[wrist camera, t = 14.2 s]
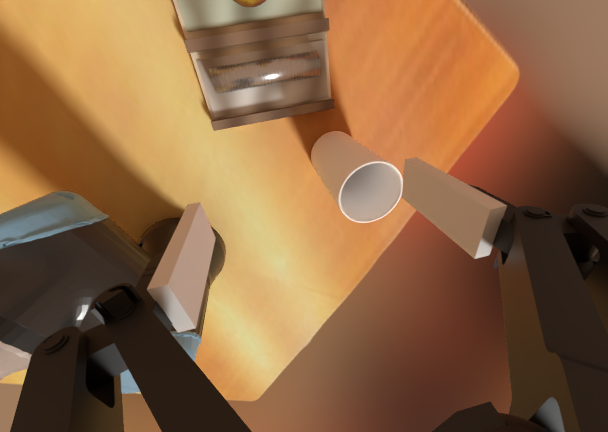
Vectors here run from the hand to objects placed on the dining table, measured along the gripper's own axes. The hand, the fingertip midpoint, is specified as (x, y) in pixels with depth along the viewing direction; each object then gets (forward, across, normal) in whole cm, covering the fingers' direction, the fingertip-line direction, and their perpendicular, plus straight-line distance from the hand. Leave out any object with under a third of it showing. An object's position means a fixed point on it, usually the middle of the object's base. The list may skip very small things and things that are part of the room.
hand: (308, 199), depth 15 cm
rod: (+25, 0, +6) cm, 26 cm away
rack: (+27, 0, +11) cm, 29 cm away
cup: (+27, +9, -7) cm, 29 cm away
